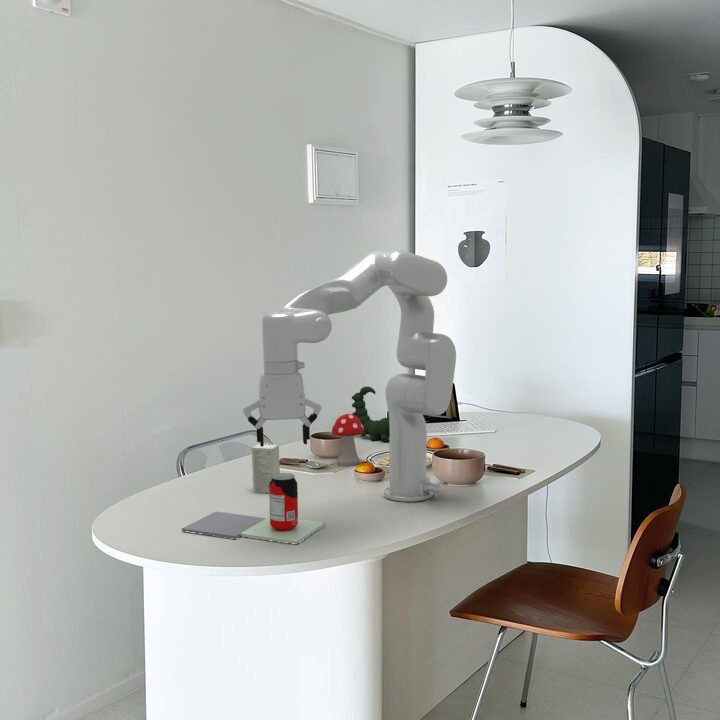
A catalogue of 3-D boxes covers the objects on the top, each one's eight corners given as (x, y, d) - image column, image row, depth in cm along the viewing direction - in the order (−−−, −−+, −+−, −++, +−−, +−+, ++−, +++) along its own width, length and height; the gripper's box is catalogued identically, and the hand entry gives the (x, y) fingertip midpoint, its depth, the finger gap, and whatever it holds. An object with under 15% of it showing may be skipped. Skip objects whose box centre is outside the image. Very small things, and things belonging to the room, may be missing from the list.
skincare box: (280, 489, 232) (280, 444, 230) (273, 494, 227) (273, 448, 226) (259, 487, 234) (258, 443, 232) (251, 492, 229) (251, 446, 228)
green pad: (324, 526, 201) (324, 522, 201) (296, 545, 188) (296, 541, 188) (271, 519, 206) (271, 515, 206) (240, 536, 193) (240, 533, 193)
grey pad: (266, 521, 204) (266, 518, 204) (235, 539, 192) (235, 536, 192) (215, 514, 210) (215, 511, 210) (182, 531, 197) (181, 528, 197)
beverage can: (303, 528, 196) (302, 476, 195) (278, 534, 193) (278, 481, 191) (288, 521, 202) (288, 471, 200) (264, 526, 198) (263, 475, 196)
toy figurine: (350, 444, 293) (416, 446, 280) (345, 388, 291) (412, 387, 278) (364, 439, 301) (429, 440, 288) (359, 384, 299) (425, 383, 286)
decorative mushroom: (341, 469, 253) (340, 418, 251) (326, 463, 260) (325, 413, 258) (370, 464, 258) (369, 414, 256) (354, 458, 266) (354, 410, 264)
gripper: (318, 364, 197) (320, 438, 200) (241, 367, 195) (244, 442, 197) (321, 369, 190) (323, 446, 192) (241, 372, 188) (244, 450, 190)
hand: (283, 444), depth 195 cm, fingers open, 9 cm apart
